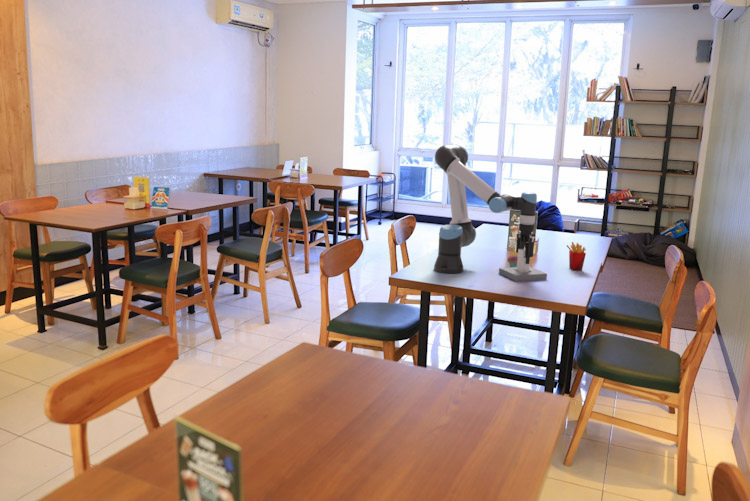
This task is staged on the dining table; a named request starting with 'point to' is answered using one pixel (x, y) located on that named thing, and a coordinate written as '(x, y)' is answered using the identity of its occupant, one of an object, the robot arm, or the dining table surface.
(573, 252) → the french fries
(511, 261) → the cupcake
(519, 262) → the plug
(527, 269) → the robot arm
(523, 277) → the socket
